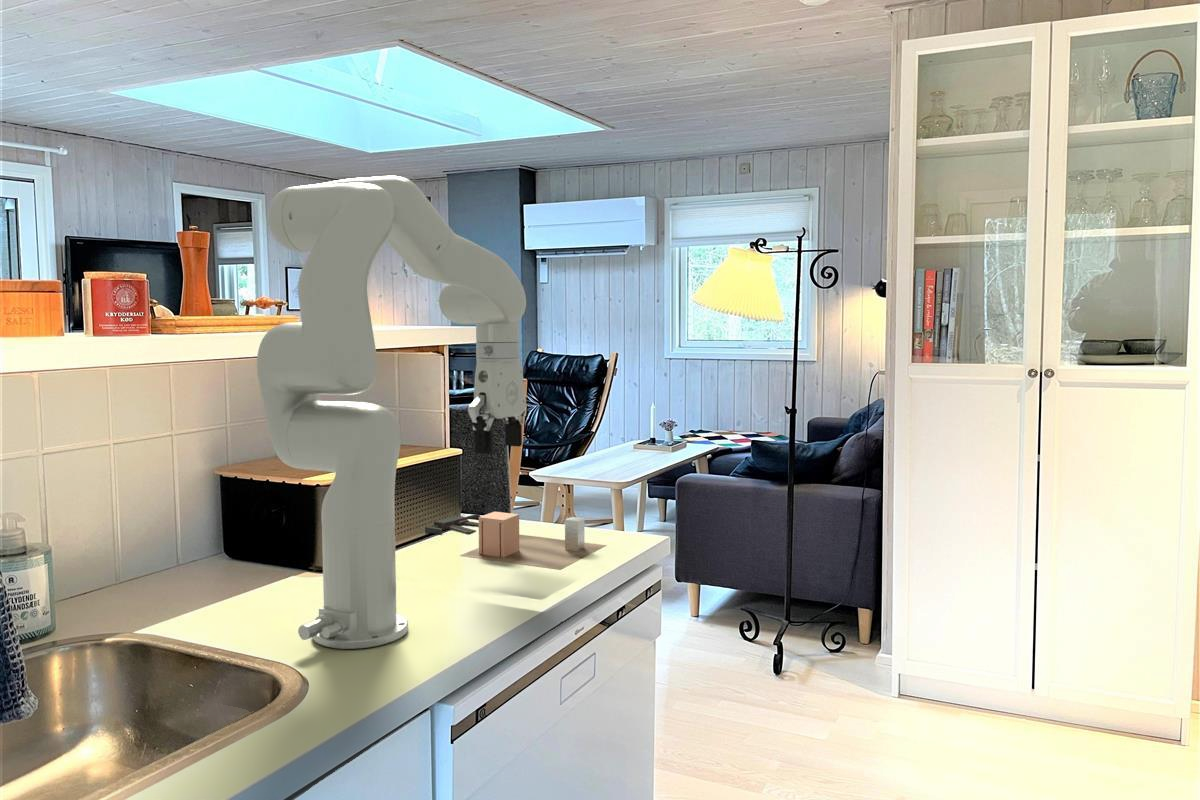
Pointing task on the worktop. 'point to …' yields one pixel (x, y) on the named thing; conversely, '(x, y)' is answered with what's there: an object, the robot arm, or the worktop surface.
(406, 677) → the worktop surface
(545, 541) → the board
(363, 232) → the robot arm
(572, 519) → the post
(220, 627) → the worktop surface
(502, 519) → the salmon pink block
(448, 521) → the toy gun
